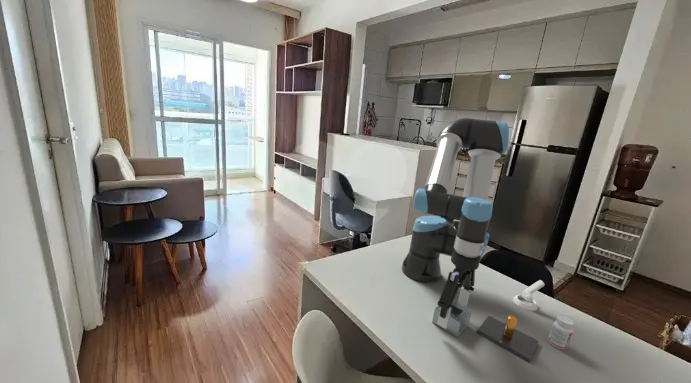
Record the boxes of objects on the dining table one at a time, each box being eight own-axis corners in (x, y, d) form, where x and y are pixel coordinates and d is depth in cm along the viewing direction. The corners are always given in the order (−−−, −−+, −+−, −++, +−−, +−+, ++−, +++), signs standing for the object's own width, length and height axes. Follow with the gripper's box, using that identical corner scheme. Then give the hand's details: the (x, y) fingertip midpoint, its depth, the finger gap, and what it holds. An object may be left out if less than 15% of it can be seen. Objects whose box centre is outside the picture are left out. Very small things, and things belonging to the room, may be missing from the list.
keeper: (476, 332, 88) (482, 312, 86) (488, 318, 95) (493, 299, 93) (529, 362, 78) (536, 340, 77) (537, 343, 86) (544, 323, 84)
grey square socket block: (431, 322, 90) (434, 308, 89) (443, 311, 96) (446, 298, 94) (457, 337, 85) (460, 322, 83) (468, 325, 90) (471, 311, 89)
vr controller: (561, 300, 100) (551, 291, 97) (530, 319, 104) (520, 311, 101) (546, 283, 106) (536, 275, 104) (518, 302, 110) (508, 294, 108)
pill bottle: (567, 352, 83) (577, 328, 81) (548, 344, 86) (556, 320, 83) (566, 342, 87) (575, 318, 85) (547, 335, 90) (555, 311, 87)
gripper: (461, 270, 72) (445, 342, 77) (495, 246, 90) (479, 306, 95) (434, 258, 77) (420, 326, 82) (470, 238, 95) (457, 295, 100)
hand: (452, 316), depth 89 cm, fingers open, 13 cm apart
